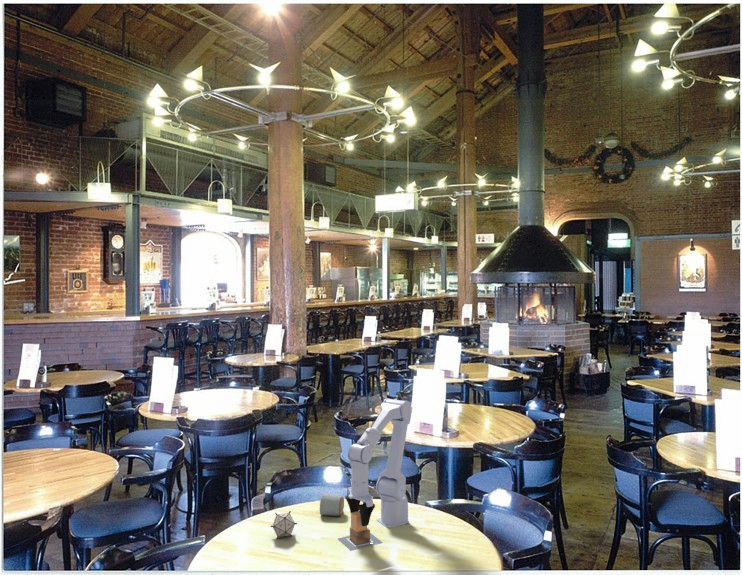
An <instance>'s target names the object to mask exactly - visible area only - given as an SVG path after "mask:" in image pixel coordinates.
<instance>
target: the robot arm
mask: <svg viewBox="0 0 742 575" xmlns="http://www.w3.org/2000/svg"><path fill="white" fill-rule="evenodd" d="M412 410H413V407H412V405H411V402H410V401H408V400H402V399H400V400H399V399H393V398H388V397H387V398H385V399H384V400H383V401H382V403H381V405H380V413H379V415H378V416H377V418H376V420H375V421H374V423H373V424H372V426H371V427H367V428H366V430H365V431H363V433H362V435H361V437H360V438H359V439H358V440H357V441H356V443H354V444H352V445H351V446H349V449H348V453H347V458H348V460H349V465H350V468H351V469H350V470H351V472H350V473H351V475H350V476H351V477H350V478H351V481H350V482H351V486H349V487H347V494H348V495H345V496H344V497H345V498H344V499H345V500H346V503H347V505H348V506H349V513H350V514H351V513H352V512H357V511H360V515H361V524H362V526H367V527H368V526H369V524H370V520H371V516H372V512H373V511H374V509H375V507H376V504H375V503H374V500H373V499H372V497H371V495H370V493H369V463H370V461H372V458H373V453H374V448H375V447H376V446H377V444H378V443H379V441H380V440H381V433H382V431H383V430H384V429H385V428H386V427H387V425H388V424H390V422H391V424H392V432H391V438H390V439H391V440H390V446H389V450H388V457H387V462H386V468H385V469H384V470H381V472H380V473H379V476H378V479H377V481H376V483H375V484H376V485H375V491H376V493H377V494H378V497H379V498H380V518H376V522H378V523H379V524H381V525H382V526H384V528H386V529H390V528H394V527H398V526H401V525H406V524H410V521H409V504H408V499H407V498H406V496H405V495H406V493H407V492H406V491H407V486H406V484H407V483H406V482H407V481H406V480H407V479H406V476H405V475H404V474H403V473H402V472H401V468H402V461H403V457H404V450H405V444H406V439H407V438H406V437H407V433H408V425H410V423H411V418H412ZM361 502H362V503H361Z"/></svg>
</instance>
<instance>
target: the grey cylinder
mask: <svg viewBox="0 0 742 575" xmlns="http://www.w3.org/2000/svg"><path fill="white" fill-rule="evenodd" d="M344 507H345V498H344V496H342V495H340V494H339V495H338V494H333V493H332V494H330V493H322V494H321V497H320V501H319V514H320V515H321V516H330V517H341V516H342V515H343V512H344Z"/></svg>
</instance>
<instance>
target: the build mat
mask: <svg viewBox="0 0 742 575" xmlns="http://www.w3.org/2000/svg"><path fill="white" fill-rule="evenodd" d="M337 541H339V542H341V544H342V545H343V546H345V547H346V548H347V550H349V551H350V552H352V551H356V550H360V549H365V548H368V547H371V546H376V545H379V544H383V543H384V542H383V541H382V540H380V539H379V538H378V537H377V536H375V534H373V533H371V532H370V542H368V543H364V544H360V545H356V544H355V543H354V542H352V541H351V540H350V535H348V536H347V535H346V536H343V537H339V538H337ZM370 543H373V544H370Z"/></svg>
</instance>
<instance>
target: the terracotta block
mask: <svg viewBox="0 0 742 575" xmlns="http://www.w3.org/2000/svg"><path fill="white" fill-rule="evenodd" d="M350 527H351V528H352V529H353V530H354V531H355V532H360V531H364V530H367V528H368V525H367V526H362V524H361V515H360V511H357V512H352V513H350Z"/></svg>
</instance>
